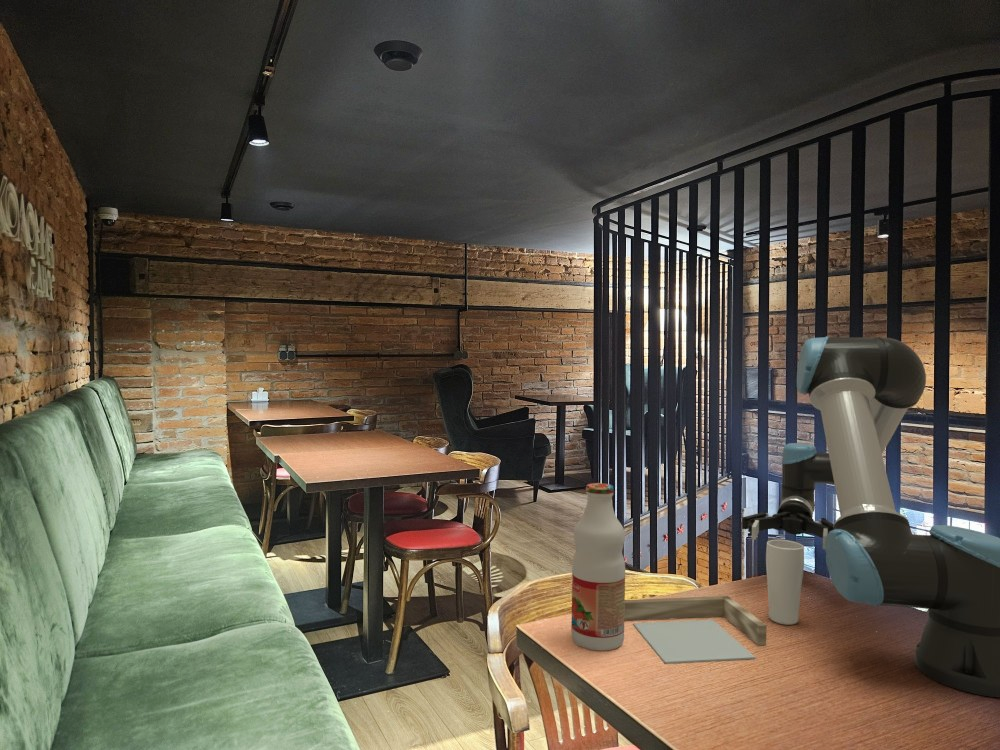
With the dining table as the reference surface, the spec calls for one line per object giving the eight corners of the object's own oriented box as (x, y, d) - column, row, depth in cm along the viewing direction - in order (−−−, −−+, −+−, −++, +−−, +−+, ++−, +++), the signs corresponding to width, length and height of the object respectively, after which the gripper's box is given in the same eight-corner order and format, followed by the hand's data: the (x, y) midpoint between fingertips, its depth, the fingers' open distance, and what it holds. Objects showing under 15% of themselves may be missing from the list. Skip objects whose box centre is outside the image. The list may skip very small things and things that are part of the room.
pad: (755, 659, 111) (755, 657, 111) (665, 663, 109) (665, 661, 109) (712, 621, 127) (712, 619, 127) (633, 624, 125) (633, 623, 125)
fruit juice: (623, 654, 112) (626, 491, 111) (568, 649, 114) (570, 489, 113) (624, 632, 121) (627, 481, 121) (573, 627, 123) (575, 479, 123)
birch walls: (766, 644, 117) (766, 625, 117) (638, 651, 114) (639, 631, 113) (727, 613, 131) (727, 595, 131) (613, 618, 128) (613, 600, 128)
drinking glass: (760, 621, 127) (762, 545, 127) (769, 611, 132) (770, 537, 132) (798, 630, 123) (800, 551, 123) (805, 619, 129) (807, 543, 128)
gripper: (854, 538, 150) (856, 565, 131) (738, 524, 161) (725, 546, 142) (855, 505, 149) (857, 528, 130) (739, 493, 161) (726, 512, 142)
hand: (788, 538), depth 136 cm, fingers open, 13 cm apart
